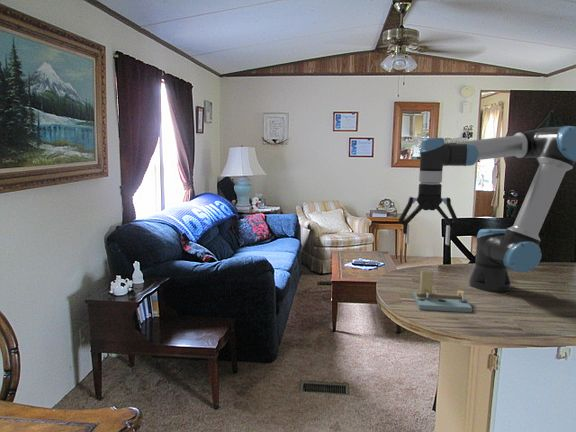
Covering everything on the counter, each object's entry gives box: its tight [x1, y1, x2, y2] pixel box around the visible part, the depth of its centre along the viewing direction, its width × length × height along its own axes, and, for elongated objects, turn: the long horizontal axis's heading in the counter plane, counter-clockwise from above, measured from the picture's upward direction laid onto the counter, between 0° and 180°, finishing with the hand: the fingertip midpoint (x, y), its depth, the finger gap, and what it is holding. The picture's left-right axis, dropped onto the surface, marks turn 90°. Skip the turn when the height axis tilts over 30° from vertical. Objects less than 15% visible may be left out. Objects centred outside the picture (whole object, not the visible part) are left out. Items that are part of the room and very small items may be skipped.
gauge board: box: [412, 290, 473, 313], centre depth 159 cm, size 17×14×4 cm
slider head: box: [419, 269, 434, 299], centre depth 161 cm, size 4×6×9 cm, turn 173°
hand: (427, 243), depth 160 cm, fingers open, 13 cm apart
